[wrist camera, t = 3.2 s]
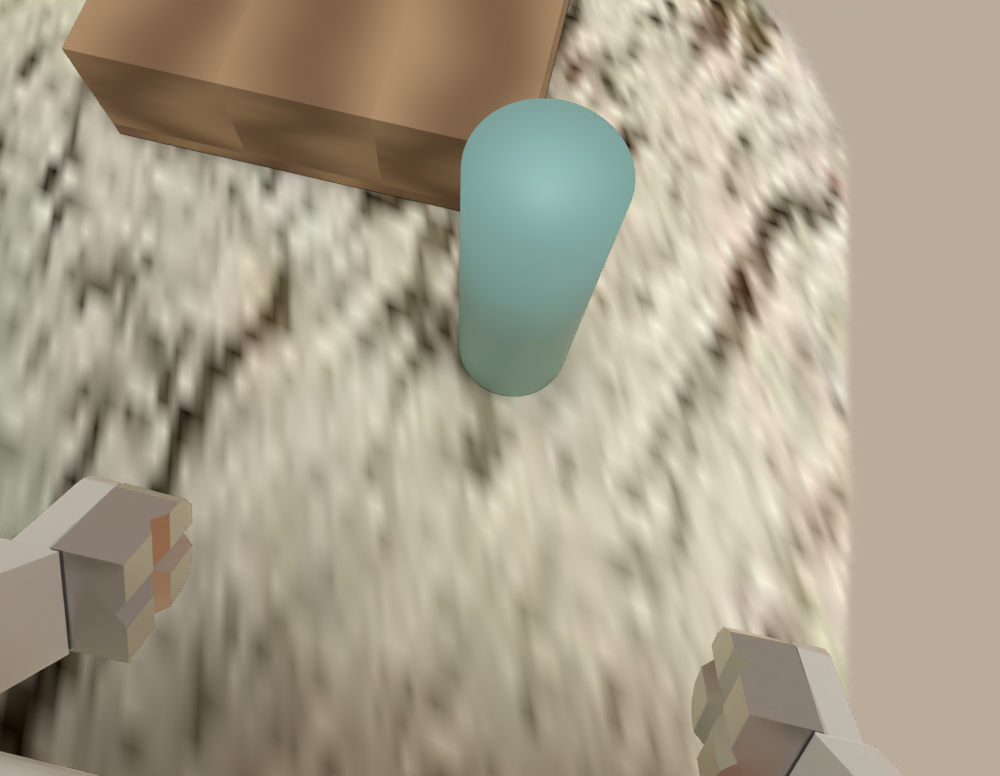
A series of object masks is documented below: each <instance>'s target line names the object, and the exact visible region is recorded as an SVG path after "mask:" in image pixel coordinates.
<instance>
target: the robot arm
mask: <svg viewBox="0 0 1000 776" xmlns="http://www.w3.org/2000/svg"><path fill="white" fill-rule="evenodd" d="M191 523H192V504H191V503H190V502H189V501H187V500H186V499H183V498H179V497H175V496H171V495H167V494H163V493H160V492H156V491H152V490H148V489H144V488H141V487H137V486H133V485H129V484H125V483H124V484H122V483H119V482H115V481H111V480H108V479H104V478H100V477H96V476H90V477H86V478H83V479H81V480H80V481H79V482H78V483H76V484H75V485H74V486H73V487H72V488H71V489H70V490H68V491H67V492H66V493H65V494H64V495H63V496H62V497H60V498H59V499H58V500H57V501H56V502H55V503H53V504H52V505H51V506H50V507H49V508H48V509H47V510H45V511H44V512H43V513H42V514H41V515H40V516H38V517H37V518H36V519H35V520H34V521H33V522H32V523H30V524H29V525H28V526H27V527H26V528H25V529H24V530H22V531H21V532H20V533H19V534H18V535H17V536H15V537H14V538H13V539H12V540H9V539H4V538H0V693H2V692H4V691H5V690H7V689H9V688H11V687H12V686H14V685H16V684H18V683H19V682H21V681H23V680H25V679H26V678H28V677H30V676H32V675H33V674H35V673H37V672H38V671H40V670H42V669H44V668H45V667H47V666H49V665H51V664H52V663H54V662H56V661H58V660H59V659H61V658H63V657H65V656H66V655H68V654H69V651H74V652H78V653H83V654H88V655H93V656H97V657H102V658H107V659H112V660H116V661H121V662H126V663H129V662H130V660H131V659H132V658H133V656H134V655H135V654H136V652H137V651H138V650H139V648H140V647H141V646H142V644H143V643H144V642H145V640H146V639H147V638H148V636H149V635H150V633H151V632H152V631H153V629H154V614H155V613H157V612H159V611H161V610H163V609H165V608H168V607H170V606H171V605H172V604H173V602H174V601H175V599H176V598H177V596H178V595H179V594H180V592H181V590H182V588H183V586H184V583H185V581H186V579H187V576H188V574H189V570H190V565H191V560H192V544H191V543H190V541H189V540H188V538H187V537H186V536H185V534H184V532H185V531H186V529H187V528H188V527H189V526H190V524H191ZM712 650H713V656H714V660H713V661H711V662H709V663H707V664H706V665H704V666H702V667H701V670H700V672H699V675H698V677H697V680H696V682H695V686H694V692H693V697H692V723H693V731H694V733H695V734H696V735H697V736H698V738H699V739H700V740H701V742H702V743H703V744H704V746H703V748H702V750H701V752H700V754H699V756H698V758H697V760H698V766H699V773H700V776H903V775H902V774H901V773H900V772H899V771H898V770H897V768H896V767H895V766H893V764H892V763H891V762H890V761H888V759H887V758H886V757H884V755H883V754H882V753H881V752H880V751H879V750H877V748H876V747H875V746H871V745H867V744H864V742H863V739H862V737H861V734H860V731H859V729H858V726H857V724H856V721H855V718H854V716H853V713H852V711H851V708H850V705H849V703H848V700H847V698H846V695H845V692H844V690H843V687H842V685H841V682H840V679H839V677H838V674H837V672H836V669H835V667H834V664H833V661H832V659H831V656H830V654H829V653H828V652H827V651H826V650H825V649H822V648H818V647H813V646H808V645H804V644H799V643H794V642H787V641H783V640H778V639H774V638H770V637H765V636H761V635H757V634H752V633H748V632H743V631H739V630H735V629H730V628H726V627H723V628H722V629H721V630H720V631H719V632H718V633H717V635H716V637H715V639H714V641H713V644H712ZM0 776H99V775H95V774H91V773H87V772H83V771H79V770H75V769H71V768H67V767H63V766H58V765H54V764H50V763H46V762H42V761H38V760H34V759H30V758H26V757H21V756H17V755H13V754H9V753H5V752H1V751H0Z"/></svg>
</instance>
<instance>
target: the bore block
mask: <svg viewBox="0 0 1000 776" xmlns="http://www.w3.org/2000/svg"><path fill="white" fill-rule="evenodd" d="M569 2H570V0H86V2H85V4H84V6H83V8H82V10H81V12H80V14H79V16H78V18H77V20H76V22H75V24H74V26H73V27H72V29H71V31H70V33H69V35H68V37H67V39H66V41H65V43H64V45H63V47H62V49H63V51H64V52H65V54H66V55H67V57H68V58H69V59H70V61H71V62H72V64H73V65H74V67H75V68H76V70H77V71H78V73H79V74H80V75H81V77H82V78H83V80H84V81H85V83H86V84H87V86H88V87H89V89H90V90H91V92H92V93H93V94H94V96H95V97H96V99H97V100H98V102H99V103H100V105H101V106H102V108H103V109H104V110H105V112H106V113H107V115H108V116H109V118H110V119H111V121H112V122H113V124H114V125H115V126H116V128H117V129H118V131H119V132H120V133H121V134H126V135H130V136H134V137H139V138H143V139H148V140H152V141H156V142H161V143H165V144H169V145H174V146H178V147H183V148H187V149H191V150H196V151H200V152H204V153H209V154H213V155H218V156H222V157H226V158H231V159H235V160H239V161H244V162H248V163H253V164H257V165H261V166H266V167H270V168H274V169H279V170H283V171H288V172H292V173H296V174H301V175H305V176H309V177H314V178H318V179H323V180H327V181H331V182H336V183H340V184H345V185H349V186H353V187H358V188H362V189H366V190H371V191H375V192H380V193H384V194H388V195H393V196H397V197H401V198H406V199H410V200H415V201H419V202H423V203H428V204H432V205H436V206H441V207H445V208H450V209H454V210H458V211H460V191H461V160H462V155H463V151H464V148H465V145H466V143H467V141H468V139H469V137H470V135H471V134H472V132H473V131H474V130H475V128H476V127H477V126H478V125H479V124H480V123H481V122H482V121H483V120H484V119H485V118H486V117H488V116H489V115H490V114H491V113H493V112H495V111H496V110H498V109H500V108H502V107H504V106H506V105H509V104H511V103H515V102H518V101H522V100H528V99H538V98H546V95H547V91H548V87H549V83H550V79H551V74H552V70H553V66H554V62H555V58H556V54H557V50H558V46H559V42H560V38H561V34H562V30H563V26H564V22H565V18H566V14H567V10H568V6H569Z"/></svg>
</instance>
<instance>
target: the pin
mask: <svg viewBox="0 0 1000 776" xmlns="http://www.w3.org/2000/svg"><path fill="white" fill-rule="evenodd" d="M634 187H635V169H634V164H633V160H632V157H631V154H630V151H629V149H628V147H627V145H626V143H625V142H624V140H623V139H622V137H621V136H620V134H619V133H618V132H617V131H616V130H615V129H614V128H613V126H612V125H610V124H609V123H608V122H607V121H606V120H605V119H603V118H602V117H601V116H599V115H598V114H596V113H595V112H593V111H591V110H589V109H587V108H585V107H583V106H580V105H578V104H575V103H571V102H568V101H564V100H558V99H548V98H538V99H528V100H522V101H518V102H515V103H511V104H509V105H506V106H504V107H502V108H500V109H498V110H496V111H495V112H493V113H491V114H490V115H489V116H488V117H486V118H485V119H484V120H483V121H482V122H481V123H480V124H479V125H478V126H477V127H476V128H475V130H474V131H473V132H472V134H471V135H470V137H469V139H468V141H467V143H466V145H465V148H464V151H463V155H462V160H461V191H460V268H459V345H458V346H459V354H460V358H461V361H462V364H463V366H464V368H465V369H466V371H467V373H468V374H469V375H470V377H471V378H472V379H473V380H474V381H475V382H476V383H478V384H479V385H480V386H482V387H483V388H485V389H487V390H489V391H491V392H493V393H496V394H500V395H505V396H523V395H528V394H531V393H534V392H536V391H538V390H540V389H542V388H544V387H545V386H547V385H548V384H549V383H550V382H551V381H552V380H553V379H554V378H555V377H556V375H557V374H558V372H559V371H560V369H561V367H562V365H563V362H564V360H565V358H566V355H567V353H568V350H569V348H570V346H571V343H572V341H573V339H574V336H575V334H576V331H577V329H578V327H579V324H580V322H581V319H582V317H583V315H584V312H585V310H586V308H587V305H588V303H589V300H590V298H591V296H592V293H593V291H594V288H595V286H596V284H597V281H598V279H599V277H600V274H601V272H602V269H603V267H604V265H605V262H606V260H607V257H608V255H609V253H610V250H611V248H612V246H613V243H614V241H615V238H616V236H617V234H618V231H619V229H620V226H621V224H622V222H623V219H624V217H625V215H626V212H627V210H628V207H629V205H630V203H631V200H632V197H633V193H634Z"/></svg>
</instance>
